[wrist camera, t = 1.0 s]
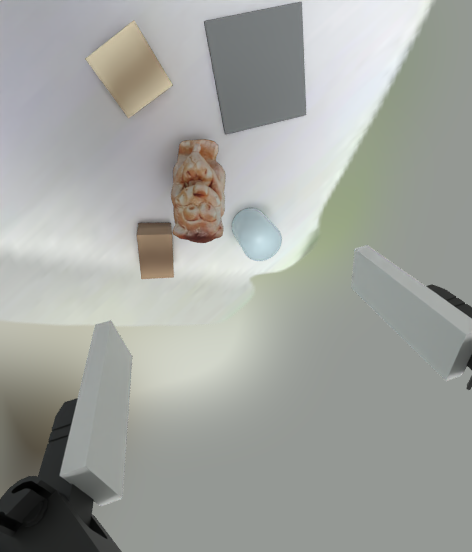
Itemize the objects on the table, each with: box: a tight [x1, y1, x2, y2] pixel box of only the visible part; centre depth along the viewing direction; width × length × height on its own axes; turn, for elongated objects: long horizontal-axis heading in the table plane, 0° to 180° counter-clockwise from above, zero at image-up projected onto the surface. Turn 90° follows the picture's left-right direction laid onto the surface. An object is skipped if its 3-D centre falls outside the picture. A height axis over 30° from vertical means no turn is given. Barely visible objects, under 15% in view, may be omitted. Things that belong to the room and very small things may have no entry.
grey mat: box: [204, 2, 306, 134], centre depth 31 cm, size 10×10×1 cm
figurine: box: [171, 139, 225, 243], centre depth 28 cm, size 6×8×15 cm
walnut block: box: [137, 223, 174, 279], centre depth 36 cm, size 6×4×4 cm, turn 175°
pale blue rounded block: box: [232, 208, 282, 261], centre depth 37 cm, size 5×5×6 cm
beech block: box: [86, 21, 173, 118], centre depth 26 cm, size 5×5×5 cm
